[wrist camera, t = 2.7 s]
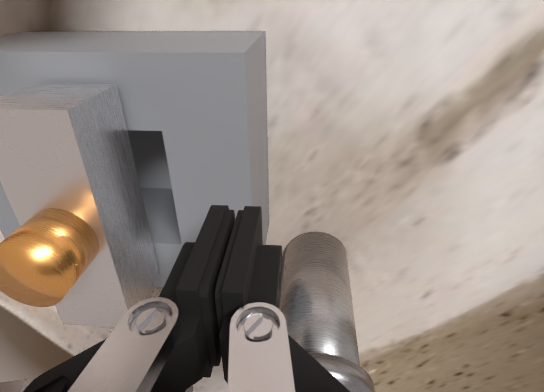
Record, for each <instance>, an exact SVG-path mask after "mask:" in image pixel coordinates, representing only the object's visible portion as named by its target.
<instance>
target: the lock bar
mask: <svg viewBox="0 0 544 392" xmlns="http://www.w3.org/2000/svg"><path fill="white" fill-rule="evenodd" d="M0 182H1V184H2V187H3V189H4V191H5V193H6V196H7V198H8V200H9V202H10V205H11V207H12V209H13V211H14V214H15V216H16V218H17V220H18V223H19V225H20V227H19V228H18V229H17V230H16V231H14V232H13V233H12V234H11V235H10V236H8V237H7V238H6V239H5V240H4V241H2V242H1V243H0V290H1V291H2V292H3V293H4V294H6V295H7V296H9V297H11V298H12V299H14V300H16V301H18V302H21V303H23V304H27V305H30V306H36V307H49V306H53V305H55V306H56V308H57V311H58V313H59V315H60V318H61V320H62V322H63V324H71V325H84V326H97V327H110V328H115V327H116V325H117V324H118V323H119V321H120V320H121V319H122V317H123V316H124V315H125V313H126V312H127V311H128V310H129V309H130V308H131V307H132V306H134V305H135V304H137V303H138V302H140V301H143V300H145V299H148V298H150V296H151V294H152V292H153V291H154V289H155V287H156V285H157V283H158V281H159V279H160V274H159V269H158V265H157V260H156V256H155V251H154V247H153V242H152V238H151V234H150V229H149V225H148V220H147V216H146V211H145V207H144V202H143V198H142V193H141V189H140V184H139V180H138V176H137V171H136V167H135V162H134V158H133V153H132V149H131V144H130V140H129V135H128V131H127V126H126V122H125V118H124V113H123V109H122V104H121V100H120V95H119V91H118V86H117V84H66V83H35V84H33V85H30V86H27V87H25V88H22V89H19V90H17V91H14V92H11V93H8V94H6V95H3V96H0Z"/></svg>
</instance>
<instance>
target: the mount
mask: <svg viewBox="0 0 544 392" xmlns="http://www.w3.org/2000/svg"><path fill="white" fill-rule="evenodd" d="M35 83H66V84H117V86H118V91H119V95H120V100H121V104H122V109H123V113H124V118H125V122H126V126H127V131H128V135H129V140H130V144H131V149H132V153H133V158H134V162H135V167H136V171H137V176H138V180H139V184H140V189H141V193H142V198H143V202H144V207H145V211H146V216H147V220H148V225H149V229H150V234H151V238H152V242H153V247H154V251H155V256H156V260H157V265H158V269H159V274H160V279H159V281H158V283H157V285H156V287H155V288H163V287H164V285H165V283H166V281H167V279H168V276H169V274H170V272H171V270H172V268H173V266H174V264H175V261H176V259H177V257H178V255H179V253H180V251H181V249H182V246H183V245H184V243H185V242H196V239H197V237H198V235H199V232H200V230H201V228H202V225H203V223H204V221H205V218H206V216H207V213H208V211H209V209H210V207H211V205H228V207H229V210H234V212H235V219H236V216H237V212H238V210H244V207H245V206H261V209H262V239H263V245H265V243H266V237H267V232H268V226H269V195H268V144H267V94H266V44H265V31H30V32H22V33H16V34H11V35H5V36H0V96H3V95H6V94H8V93H11V92H14V91H17V90H19V89H22V88H25V87H27V86H30V85H33V84H35ZM19 227H20V225H19V223H18V220H17V218H16V216H15V214H14V211H13V209H12V207H11V205H10V202H9V200H8V198H7V196H6V193H5V191H4V189H3V187H2V184H1V182H0V229H1V231H2V234H3V236H4V238H5V239H6V238H7V237H8V236H10V235H11V234H12V233H13V232H14V231H16V230H17V229H18V228H19Z"/></svg>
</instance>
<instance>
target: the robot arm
mask: <svg viewBox="0 0 544 392" xmlns="http://www.w3.org/2000/svg"><path fill="white" fill-rule="evenodd" d="M281 275H282V246H278V245H263V239H262V209H261V206H245V207H244V210H238V212H237V216H236V219H235V212H234V210H229V207H228V205H211V207H210V209H209V211H208V213H207V216H206V218H205V221H204V223H203V225H202V228H201V230H200V232H199V235H198V237H197V239H196V242H185V243H184V245H183V246H182V249H181V251H180V253H179V255H178V257H177V259H176V261H175V264H174V266H173V268H172V270H171V272H170V274H169V276H168V279H167V281H166V283H165V285H164V287H163V289H162V291H161V294H160V296H159V297H153V298H148V299H145V300H143V301H140V302H138V303H137V304H135V305H134V306H132V307H131V308H130V309H129V310H128V311H127V312H126V313H125V315H124V316H123V317H122V319H121V320H120V321H119V323H118V324H117V325H116V327H115V328H114V329H113V331H112V332H111V334H110V335H109V336H108V338H107V339H105V340H103V341H102V342H100V343H98V344H96V345H94V346H92V347H91V348H89V349H87V350H85V351H83V352H81V353H80V354H78V355H76V356H74V357H72V358H71V359H69V360H67V361H65V362H63V363H61V364H59V365H58V366H56V367H54V368H52V369H50V370H48V371H47V372H45V373H43V374H42V375H40V376H39V377H37V378H36V379H34V380H33V381H32V382H31V383H29V382H28V381H27V379H21V380H14V381H7V382H0V392H192V391H193V384H195V383H196V382H198V381H199V380H201V379H202V377H209V378H210V376H211V372H212V368H213V366H219V364H220V360H221V356H222V363H223V371H224V379H225V381H226V382H227V383H228V392H350V391H349V390H348V389H347V388H346V387H345V386H344V385H343V384H342V383H340V382H339V381H338V380H337V379H336V378H335V377H334V376H333V375H332V374H331V373H330V372H329V371H327V370H326V369H325V368H324V367H323V366H322V365H321V364H320V363H319V362H318V361H317V360H316V359H314V358H313V357H312V356H311V355H310V354H309V353H308V352H307V351H306V350H305V349H304V348H302V347H301V346H300V345H299V344H298V343H297V342H296V341H295V340H294V339H293V338H292V337H291V336H289V335H288V332H287V325H286V320H285V317H284V314H283V313H282V312H281V311H280V309H279V305H280V292H281Z"/></svg>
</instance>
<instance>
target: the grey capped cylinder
mask: <svg viewBox="0 0 544 392" xmlns="http://www.w3.org/2000/svg"><path fill="white" fill-rule="evenodd" d="M279 309H280V311H281V312H282V313H283V314H284V317H285V320H286V325H287V332H288V335H289V336H291V337H292V338H293V339H294V340H295V341H296V342H297V343H298V344H299V345H300V346H301V347H302V348H304V349H305V350H306V351H307V352H308V353H309V354H310V355H311V356H312V357H313V358H314V359H316V360H317V361H318V362H319V363H320V364H321V365H322V366H323V367H324V368H325V369H326V370H327V371H329V372H330V373H331V374H332V375H333V376H334V377H335V378H336V379H337V380H338V381H339V382H340V383H342V384H343V385H344V386H345V387H346V388H347V389H348V390H349V391H350V392H375V388H374V384H373V381H372V379H371V377H370V376H369V374H368V373H367V372H366V371H365V370H364V369H363V368H361V367H360V363H359V355H358V346H357V338H356V329H355V321H354V313H353V304H352V296H351V288H350V279H349V271H348V262H347V254H346V250H345V248H344V246H343V244H342V243H341V242H340V241H339V240H338V239H337V238H335V237H333V236H331V235H329V234H326V233H322V232H308V233H304V234H301V235H299V236H297V237H295V238H294V239H293V240H292V241H291V242H290V243H289V244H288V246H287V248H286V251H285V258H284V267H283V277H282V286H281V296H280V305H279Z"/></svg>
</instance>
